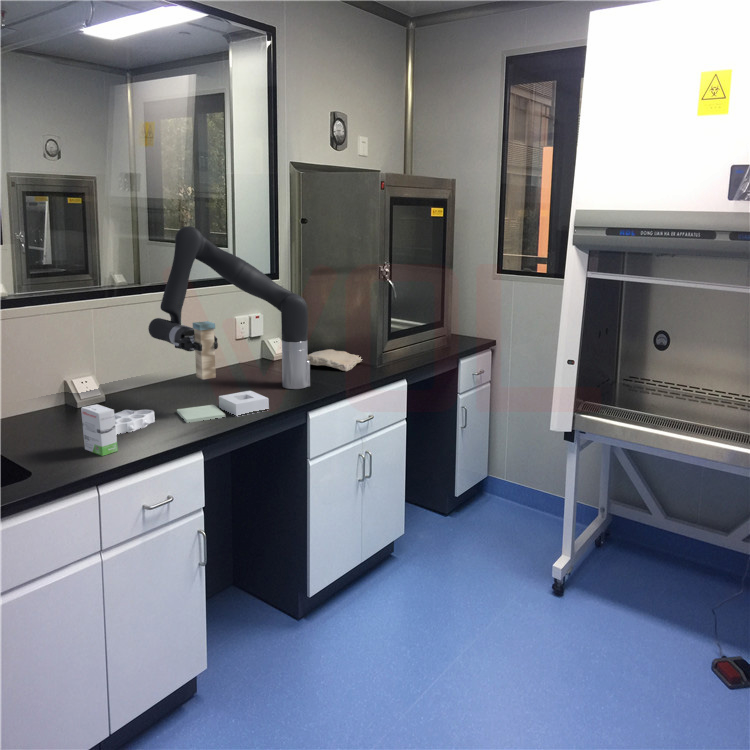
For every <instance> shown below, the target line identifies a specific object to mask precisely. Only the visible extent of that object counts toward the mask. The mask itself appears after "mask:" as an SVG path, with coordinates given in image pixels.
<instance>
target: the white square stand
mask: <svg viewBox="0 0 750 750" xmlns="http://www.w3.org/2000/svg"><path fill="white" fill-rule="evenodd" d="M269 403H270V400H269V398H268V397H267V396H264V395H262V394H260V393H258V392H255V391H253V390H245V391H240V392H234V393H229V394H223V395H218V408H219V409H220V408H221V409H220V410H221V411H222V410H223V411H224V410H225V412H226V411H227V412H226V413H228V412H229V413H228V414H230V413H231V414H230V415H232V414H234V415H236V416H237V417H239V416H238V415H241V414H245V413H249V412H253V411H259V410H265V409H269V410H270V405H269ZM234 415H233V416H234ZM236 416H235V417H236Z"/></svg>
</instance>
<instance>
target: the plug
mask: <svg viewBox="0 0 750 750" xmlns="http://www.w3.org/2000/svg"><path fill="white" fill-rule="evenodd" d="M192 328H194V336H195V342H198V343H200V344H202V351H198V350H194V353H195V373H196V374H195V376H196V377H197V378H198V379H201V380H208V379H215V378H216V377H217V376H216V375H217V374H216V373H217V372H216V352H215V350H216V349H214V336H215V329H216V323H214V322H212V321H209V320H205V321H196V322H192Z"/></svg>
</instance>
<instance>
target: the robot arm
mask: <svg viewBox="0 0 750 750" xmlns="http://www.w3.org/2000/svg"><path fill="white" fill-rule="evenodd" d="M174 243H175V244H174V245H175V246H174V252H173V253H174V254H173V260H172V263H171V264H172V265H171V269H170V272H169V276H168V279H167V282H166V285H165V289H164V292H163V295H162V299H161V302H160V310H161V311H163V312H164V313H165V314H168V315H169V317H170V320H168V319H165V318H161V317H155V318H154V319H152V320H151V321H150V322H149V323H148V324H149V325H148V333H149V335H150V337H151V338H153V339H156V340H159V341H164V342H167V343H169V344H172V345H173V346H174V348H175V349H179V350H183V351H185V352H195V350H198V351H202V344H200V343H198V342H195V336H194V328H193V327H191V326H188V325H183V324H182V311H183V306H184V304H185V298H186V295H187V292H188V286H189V279H190V275H191V271H192V267H193V264H194V263H195V260H197V261H199V262H201V263H203V264H204V265H206V266H208V267H209V268H210V269H211V270H213V272H216V273H217V274H218V275H219V276H220V277H222V278H223V279H224V280H226V281H227V282H228V283H229V284H231V285H233V286H235V287H236V288H237V289H239V290H241V291H243V292H245V293H247V294H249V295H251V296H253V297H256V298H258V299H261V300H263V301H265V302H267V303H269V304H270V305H271V306H273V307H274V308H275V309H277V311H279V312H280V313H281V314H280V320H281V364H282V365H281V367H282V368H281V369H282V370H281V372H282V374H281V375H282V377H281V378H282V379H281V381H282V387H283V388H285V389H290V390H300V389H304V388H305V389H306V388H308V387H311V365H310V361H309V360H308V355H309V354H308V348H309V347H308V335H309V334H308V333H309V332H308V330H309V326H308V325H309V324H308V323H309V318H308V317H309V313H308V312H309V311H308V308H309V307H308V304H307V302H306V300H305V299H304V297H302V296H301V295H299V294H297V293H295V292H293V291H291V290H289V289H286V288H285V287H283V286H282V285H279V284H278V283H276V282H275V281H274V280H273V279H272V278H270V277H269V276H267V275H266V274H265V273H264V272H262V271H260V270H259V269H258V268H257V267H255V266H254V265H252V264H250V263H249V262H248V261H246V260H244V259H242V258H240V257H239V256H236V255H234V254H232V253H230V252H228V251H226V250H224V249H221V248H220V247H219V246H217V245H215V244H214V243H212V242H211V241H210V240H209V239H207V238H206V237H205V236H203V235H202V233H201V232H200V230H199V229H197V228H196V227H194V226H183V227H182V228H179V230H178V231H176V234H175V238H174ZM218 346H219V344H218V338H217V336H215V335H214V349H215V350H217V349H218V348H219V347H218Z"/></svg>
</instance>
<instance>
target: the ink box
mask: <svg viewBox="0 0 750 750" xmlns="http://www.w3.org/2000/svg"><path fill="white" fill-rule="evenodd" d="M80 410H81V412H80V413H81V422H82V423H81V424H82V432H83V441H84V442H83V443H84V450H85V451H89V452H90V453H93V454H96V455H98V456H102V457H103V456H107V455H110V454H113V453H116V452H118V451H119V447H118V437H117V436H118V435H116V426H115V416H114V414H115V409H112V408H109V407H106V406H104V405H100V404H99V403H98V404H97V403H96V404H91V405H87V406H82V407H81V408H80Z"/></svg>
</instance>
